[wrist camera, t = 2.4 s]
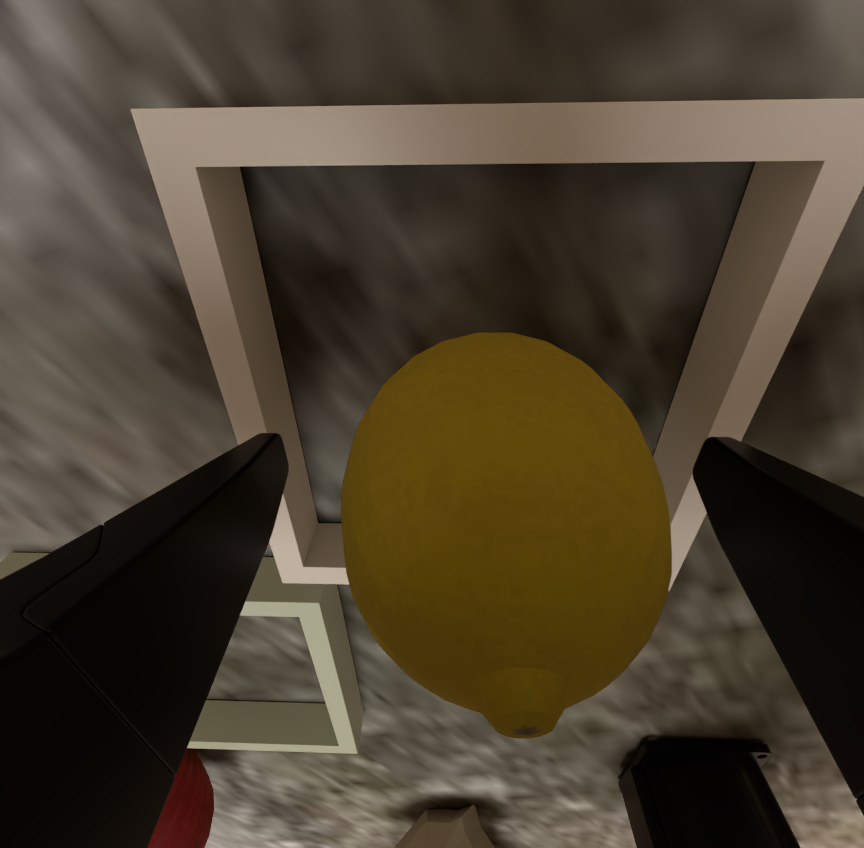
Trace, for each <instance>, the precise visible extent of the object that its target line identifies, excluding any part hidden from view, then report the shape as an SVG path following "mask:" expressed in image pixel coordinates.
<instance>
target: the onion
mask: <svg viewBox="0 0 864 848" xmlns="http://www.w3.org/2000/svg"><path fill="white" fill-rule="evenodd" d="M174 776H175V780H174V783H173V785H172V788H171V790H170V793H169V795H168V798H167V800H166V803H165V805H164V808H163V810H162V813H161V815H160V818H159V820H158V823H157V825H156V828H155V830H154V833H153V835H152V838H151V840H150V843H149V845H148V848H204V847H205V845H206V842H207V840H208V837H209V834H210V829H211V823H212V817H213V812H214V796H213V788H212V785H211V782H210V779H209V776H208V774H207V772H206V770H205V768H204V766H203V764H202V762H201V760H200V758H199V757H198V754H197V751H196V750H195V749H194V748H187V749H186V752H185V754H184V757H183V759H182V762H181V764H180V767H179V769H178V772H177V774H176V775H174Z"/></svg>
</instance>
